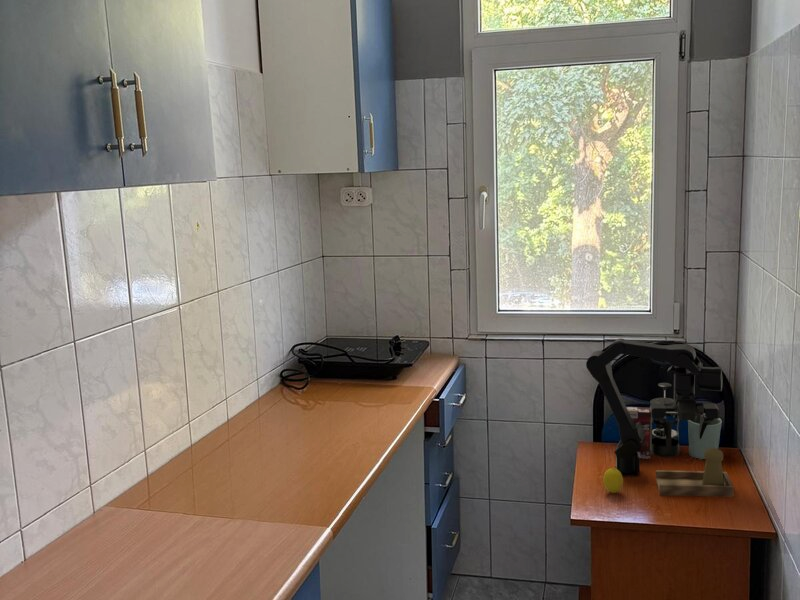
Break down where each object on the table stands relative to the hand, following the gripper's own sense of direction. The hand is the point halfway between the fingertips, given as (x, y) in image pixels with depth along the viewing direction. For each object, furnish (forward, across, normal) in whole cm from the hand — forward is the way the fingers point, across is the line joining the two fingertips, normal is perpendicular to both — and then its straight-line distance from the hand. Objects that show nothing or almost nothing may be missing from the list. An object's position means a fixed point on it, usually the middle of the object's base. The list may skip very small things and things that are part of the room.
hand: (683, 438), depth 235 cm
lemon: (+13, -21, -11) cm, 27 cm away
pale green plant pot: (+13, +9, +19) cm, 25 cm away
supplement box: (+13, -12, +17) cm, 25 cm away
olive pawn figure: (+12, +7, -6) cm, 15 cm away
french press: (+13, -3, +22) cm, 25 cm away
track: (+13, +2, -6) cm, 14 cm away
